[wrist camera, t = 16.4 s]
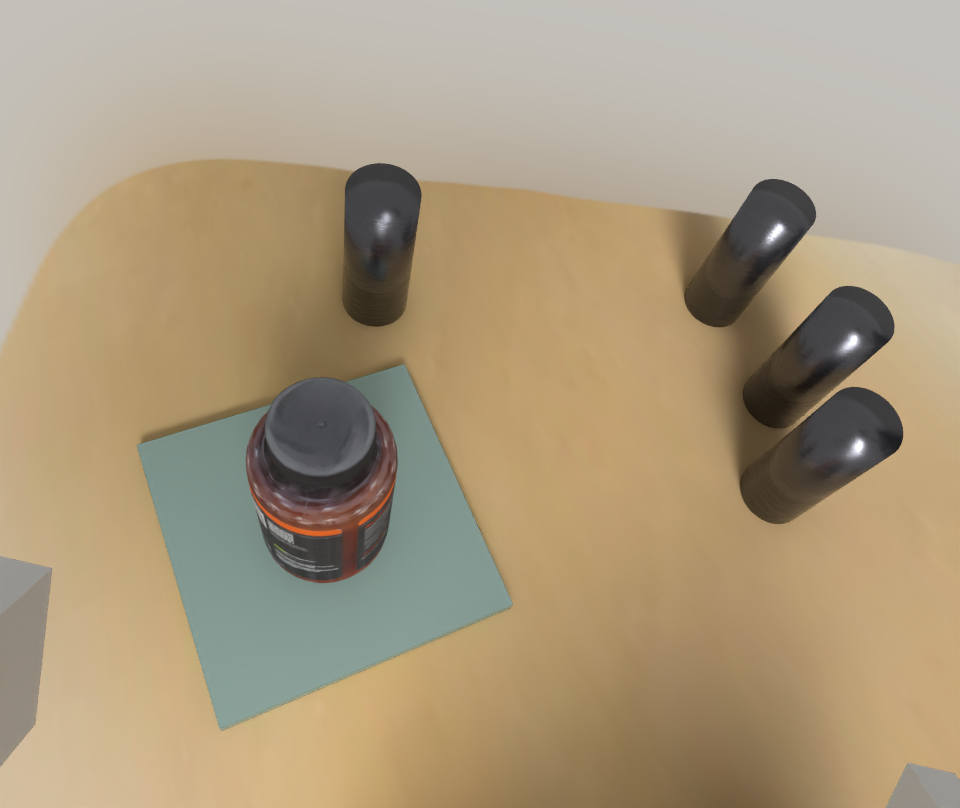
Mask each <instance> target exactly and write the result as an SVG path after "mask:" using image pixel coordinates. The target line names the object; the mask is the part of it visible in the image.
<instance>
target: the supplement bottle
mask: <svg viewBox="0 0 960 808" xmlns="http://www.w3.org/2000/svg"><path fill="white" fill-rule="evenodd" d="M397 466H398V457H397V447H396V443H395V440H394V436H393V433H392V431H391V429H390V427H389V425H388V423H387V422H386V420H385V419H384V417H383V416H382V415H381V414H380V413H379V412H378V411H377V410H376V409H375V408H374V407H373V406H372V405H370V403H369V401H368V400H367V399H366V397H365V396H364V395H363V394H362V393H361V392H360V391H359V390H357V389H356V388H355V387H353V386H351V385H349V384H348V383H346V382H343V381H341V380H337V379H333V378H323V377H320V378H309V379H305V380H302V381H300V382H297V383H295V384H293V385H291V386H289V387H288V388H286V389H285V390H284V391H282V392H281V393H280V394H279V395H278V396H277V397H276V398H275V399H274V401H273V402H272V404H271V406H270V408H269V410H268V411H267V412H266V413H265V414H264V415H263V416H262V417H261V419H260V420H259V422H258V423H257V425H256V426H255V428H254V430H253V432H252V434H251V436H250V439H249V442H248V446H247V451H246V471H247V478H248V482H249V485H250V490H251V494H252V497H253V501H254V504H255V508H256V512H257V516H258V519H259V523H260V527H261V530H262V535H263V538H264V541H265V544H266V546H267V548H268V550H269V552H270V554H271V555H272V558H273V559H274V560H275V561H276V562H277V563H278V564H279V565H280V566H281V567H282V568H283V569H284V570H285V571H286V572H288V573H290V574H291V575H293V576H295V577H297V578H300V579H303V580H305V581H309V582H314V583H331V582H337V581H341V580H344V579H347V578H349V577H352V576H354V575H356V574H358V573H360V572H361V571H362V570H364V569H365V568H366V567H367V566H368V565H369V564H370V563H371V562H372V561H373V560H374V559H375V558H376V556H377V555H378V553H379V552H380V550H381V548H382V546H383V544H384V541H385V538H386V536H387V532H388V527H389V522H390V514H391V508H392V501H393V494H394V488H395V481H396V473H397Z"/></svg>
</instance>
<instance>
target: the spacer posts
mask: <svg viewBox="0 0 960 808" xmlns="http://www.w3.org/2000/svg"><path fill="white" fill-rule="evenodd" d="M420 203H421V189H420V186H419V184H418V182H417V181H416V179H415V178H414V177H413V176H412V175H411V174H410V173H408V172H407V171H405V170H404V169H402V168H400V167H397V166H394V165H390V164H380V163H379V164H371V165H367V166H364V167H361V168H359V169H358V170H356V171H355V172H354V173H353V174H352V175H351V176H350V177H349V179H348V180H347V183H346V187H345V226H344V274H343V303H344V307H345V309H346V311H347V313H348V314H349V315H350V316H351V317H352V318H353V319H354V320H356V321H357V322H359V323H361V324H364V325H368V326H384V325H388V324H391V323H393V322H394V321H396V320H397V319H398V318H400V316H401V315H402V314H403V312H404V310H405V307H406V301H407V294H408V287H409V280H410V273H411V266H412V259H413V252H414V245H415V238H416V231H417V224H418V217H419V210H420ZM815 218H816V210H815V207H814V204H813V202H812V201H811V199H810V198H809V196H807V194H806V193H805V192H804V191H803V190H801V189H800V188H798V187H797V186H795V185H794V184H792V183H789V182H786V181H783V180H778V179H769V180H764V181H761V182H759V183H758V184H757V185H756V186H755V187H754V188H753V190H752V191H751V193H750V194H749V196H748V197H747V199H746V200H745V202H744V203H743V205H742V206H741V208H740V209H739V211H738V212H737V214H736V215H735V217H734V218H733V220H732V221H731V223H730V224H729V226H728V227H727V229H726V230H725V232H724V233H723V235H722V236H721V238H720V239H719V241H718V242H717V244H716V245H715V247H714V248H713V250H712V251H711V253H710V254H709V256H708V257H707V259H706V260H705V262H704V263H703V265H702V266H701V268H700V269H699V271H698V272H697V274H696V275H695V277H694V278H693V280H692V281H691V283H690V284H689V286H688V288H687V289H686V292H685V302H686V305H687V308H688V309H689V311H690V312H691V314H692V315H693V316H694V317H695V318H696V319H698V320H699V321H701V322H702V323H704V324H706V325H709V326H713V327H725V326H728V325H731V324H732V323H734V322H735V321H736V320H737V318H738V317H739V316H740V315H741V313H742V312H743V311H744V310H745V308H746V307H747V306H748V305H749V303H750V302H751V301H752V300H753V298H754V297H755V296H756V295H757V293H758V292H759V291H760V290H761V288H762V287H763V286H764V285H765V283H766V282H767V281H768V280H769V278H770V277H771V276H772V275H773V274H774V272H775V271H776V270H777V269H778V267H779V266H780V265H781V264H782V262H783V261H784V260H785V259H786V257H787V256H788V255H789V254H790V252H791V251H792V250H793V249H794V247H795V246H796V245H797V244H798V242H799V241H800V240H801V239H802V237H803V236H804V235H805V234H806V232H807V231H808V230H809V229H810V227H811V226H812V225H813V223H814V221H815ZM893 333H894V321H893V317H892V315H891V313H890V311H889V309H888V308H887V306H886V305H885V304H884V303H883V302H882V301H881V300H880V299H879V298H878V297H877V296H875V295H874V294H872V293H871V292H869V291H867V290H865V289H862V288H859V287H854V286H843V287H839V288H836V289H835V290H833V291H832V292H831V293H830V294H829V295H828V296H827V297H826V298H825V299H824V300H823V301H822V302H821V303H820V304H819V305H818V306H817V307H816V309H815V310H814V311H813V312H812V313H811V314H810V315H809V316H808V317H807V318H806V319H805V320H804V321H803V322H802V323H801V325H800V326H799V327H798V328H797V329H796V330H795V331H794V332H793V333H792V334H791V335H790V336H789V337H788V338H787V339H786V340H785V342H784V343H783V344H782V345H781V346H780V347H779V348H778V349H777V350H776V351H775V352H774V353H773V354H772V355H771V356H770V358H769V359H768V360H767V361H766V362H765V363H764V364H763V365H762V366H761V367H760V368H759V369H758V370H757V371H756V372H755V374H754V375H753V376H752V377H751V378H750V379H749V380H748V381H747V382H746V384H745V386H744V390H743V399H744V403H745V405H746V407H747V409H748V410H749V412H750V413H751V414H752V416H753V417H755V418H756V419H757V420H758V421H759V422H761V423H763V424H765V425H767V426H770V427H774V428H785V427H789V426H791V425H792V424H794V423H795V422H796V421H797V420H799V419H800V418H801V417H802V416H803V415H804V414H805V413H807V412H808V411H809V410H810V409H811V408H812V407H814V406H815V405H816V404H817V403H818V402H819V401H821V400H822V399H823V398H824V397H825V396H826V395H827V394H829V393H830V392H831V391H832V390H833V389H834V388H836V387H837V386H838V385H839V384H840V383H841V382H842V381H844V380H845V379H846V378H847V377H848V376H849V375H851V374H852V373H853V372H854V371H855V370H856V369H857V368H859V367H860V366H861V365H862V364H863V363H864V362H866V361H867V360H868V359H869V358H870V357H871V356H872V355H874V354H875V353H876V352H877V351H878V350H879V349H881V348H882V347H883V346H884V345H885V344H886V343H888V342H889V340H890V339H891V338H892V336H893ZM902 440H903V427H902V423H901V420H900V418H899V416H898V414H897V412H896V411H895V409H894V408H893V407H892V406H891V405H890V403H889V402H888V401H886V400H885V399H884V398H883V397H881V396H880V395H878V394H877V393H875V392H873V391H871V390H868V389H865V388H860V387H849V388H845V389H842V390H840V391H839V392H837V393H836V394H835V395H834V396H832V397H831V398H830V399H829V400H828V401H827V402H825V403H824V404H823V405H822V406H821V407H819V408H818V409H817V410H816V411H815V412H814V413H812V414H811V415H810V416H809V417H808V418H807V419H805V420H804V421H803V422H802V423H801V424H800V425H798V426H797V427H796V428H795V429H794V430H793V431H791V432H790V433H789V434H788V435H787V436H786V437H784V438H783V439H782V440H781V441H780V442H778V443H777V444H776V445H775V446H774V447H773V448H771V449H770V450H769V451H768V452H767V453H766V454H764V455H763V456H762V457H761V458H760V459H759V460H757V461H756V462H755V463H754V464H753V465H752V466H750V467H749V468H748V469H747V470H746V471H745V473H744V474H743V476H742V479H741V493H742V497H743V499H744V501H745V503H746V505H747V506H748V508H749V509H750V510H751V511H752V512H753V513H754V514H755V515H756V516H757V517H759V518H761V519H762V520H764V521H767V522H769V523H774V524H783V523H787V522H790V521H792V520H793V519H795V518H796V517H798V516H799V515H801V514H802V513H804V512H805V511H807V510H808V509H810V508H812V507H813V506H815V505H816V504H818V503H819V502H821V501H822V500H824V499H825V498H827V497H828V496H830V495H831V494H833V493H834V492H836V491H837V490H839V489H840V488H842V487H843V486H845V485H846V484H848V483H849V482H851V481H853V480H854V479H856V478H857V477H859V476H860V475H862V474H863V473H865V472H866V471H868V470H869V469H871V468H872V467H874V466H875V465H877V464H878V463H880V462H881V461H883V460H884V459H886V458H887V457H889V456H890V455H892V454H893V453H895V452H896V451H897V450H898V449H899V447H900V445H901V443H902Z"/></svg>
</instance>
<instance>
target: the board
mask: <svg viewBox="0 0 960 808" xmlns="http://www.w3.org/2000/svg"><path fill="white" fill-rule="evenodd" d="M346 383H348V384H349V385H351V386H353V387H355V388H356V389H357V390H359V391H360V392H361V393H362V394H363V395H364V396H365V397H366V399H367V400H368V401H369V403H370V405H372V406H373V407H374V408H375V409H376V410H377V411H378V412H379V413H380V414H381V415H382V416H383V417H384V419H385V420H386V422H387V423H388V425H389V427H390V429H391V431H392V433H393V436H394V440H395V443H396V447H397V457H398V466H397V473H396V481H395V488H394V494H393V501H392V508H391V514H390V522H389V527H388V532H387V536H386V538H385V541H384V544H383V546H382V548H381V550H380V552H379V553H378V555H377V556H376V558H375V559H374V560H373V561H372V562H371V563H370V564H369V565H368V566H367V567H366V568H365V569H364V570H362V571H361V572H360V573H358V574H356V575H354V576H352V577H349V578H347V579H344V580H341V581H337V582H331V583H314V582H309V581H305V580H303V579H300V578H297V577H295V576H293V575H291V574H290V573H288V572H286V571H285V570H284V569H283V568H282V567H281V566H280V565H279V564H278V563H277V562H276V561H275V560H274V559H273V558H272V555H271V554H270V552H269V550H268V548H267V546H266V544H265V541H264V538H263V535H262V530H261V527H260V523H259V519H258V516H257V512H256V508H255V504H254V501H253V497H252V494H251V490H250V485H249V482H248V478H247V471H246V451H247V446H248V442H249V439H250V436H251V434H252V432H253V430H254V428H255V426H256V425H257V423H258V422H259V420H260V419H261V417H262V416H263V415H264V414H265V413H266V412H267V411H268V410H269V408H270V406H271V405H267V406H264V407H261V408H257V409H254V410H251V411H247V412H244V413H241V414H238V415H234V416H231V417H228V418H224V419H221V420H218V421H214V422H211V423H208V424H204V425H201V426H198V427H195V428H191V429H188V430H185V431H181V432H178V433H175V434H171V435H168V436H165V437H161V438H158V439H155V440H152V441H148V442H145V443H142V444H138V445H137V448H138V451H139V455H140V458H141V462H142V465H143V468H144V472H145V475H146V479H147V482H148V485H149V489H150V492H151V496H152V499H153V503H154V506H155V509H156V513H157V516H158V520H159V523H160V526H161V530H162V533H163V537H164V540H165V544H166V547H167V550H168V554H169V557H170V561H171V564H172V567H173V571H174V574H175V578H176V581H177V585H178V588H179V591H180V595H181V598H182V602H183V605H184V608H185V612H186V615H187V619H188V622H189V626H190V629H191V632H192V636H193V639H194V643H195V646H196V649H197V653H198V656H199V660H200V663H201V666H202V670H203V673H204V677H205V680H206V684H207V687H208V690H209V694H210V697H211V701H212V704H213V707H214V711H215V714H216V718H217V721H218V725H219V728H220V729H221V730H225V729H227V728H229V727H232V726H234V725H237V724H239V723H241V722H244V721H246V720H248V719H251V718H253V717H255V716H258V715H260V714H262V713H265V712H267V711H269V710H272V709H274V708H276V707H279V706H281V705H284V704H286V703H288V702H291V701H293V700H295V699H298V698H300V697H302V696H305V695H307V694H309V693H312V692H314V691H316V690H319V689H321V688H323V687H326V686H328V685H331V684H333V683H335V682H338V681H340V680H342V679H345V678H347V677H349V676H352V675H354V674H356V673H359V672H361V671H363V670H366V669H368V668H370V667H373V666H375V665H378V664H380V663H382V662H385V661H387V660H389V659H392V658H394V657H396V656H399V655H401V654H403V653H406V652H408V651H410V650H413V649H415V648H417V647H420V646H422V645H424V644H427V643H429V642H432V641H434V640H436V639H439V638H441V637H443V636H446V635H448V634H450V633H453V632H455V631H457V630H460V629H462V628H464V627H467V626H469V625H471V624H474V623H476V622H479V621H481V620H483V619H486V618H488V617H490V616H493V615H495V614H497V613H500V612H502V611H504V610H507V609H509V608H510V607H511V606H512V605H513V603H512V601H511V598H510V596H509V594H508V592H507V590H506V587H505V585H504V583H503V581H502V579H501V576H500V574H499V572H498V570H497V567H496V565H495V563H494V561H493V559H492V556H491V554H490V552H489V550H488V548H487V545H486V543H485V541H484V539H483V537H482V534H481V532H480V530H479V528H478V525H477V523H476V521H475V519H474V517H473V514H472V512H471V510H470V508H469V506H468V503H467V501H466V499H465V497H464V495H463V492H462V490H461V488H460V486H459V483H458V481H457V479H456V477H455V475H454V472H453V470H452V468H451V466H450V464H449V461H448V459H447V457H446V455H445V453H444V450H443V448H442V446H441V444H440V442H439V439H438V437H437V435H436V433H435V430H434V428H433V426H432V424H431V422H430V419H429V417H428V415H427V413H426V411H425V408H424V406H423V404H422V402H421V400H420V397H419V395H418V393H417V391H416V388H415V386H414V384H413V382H412V380H411V377H410V375H409V373H408V371H407V369H406V366H405V364H403V365H400V366H396V367H393V368H390V369H386V370H383V371H380V372H377V373H373V374H370V375H367V376H363V377H360V378H357V379H353V380H350V381H347V382H346Z"/></svg>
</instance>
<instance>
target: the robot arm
mask: <svg viewBox="0 0 960 808" xmlns="http://www.w3.org/2000/svg"><path fill="white" fill-rule="evenodd" d="M51 575H52V568H49V567H45V566H41V565H36V564H32V563H27V562H23V561H19V560H14V559H10V558H5V557H1V556H0V767H1V765H2V764H3V763H4V762H5V760H6V759H7V758H8V757H9V756H10V754H11V753H12V752H13V751H14V749H15V748H16V747H17V746H18V745H19V743H20V742H21V741H22V740H23V739H24V737H25V736H26V735H27V734H28V732H29V731H30V730H31V729H32V728H33V726H34V725H35V721H36V712H37V703H38V694H39V685H40V675H41V666H42V657H43V648H44V639H45V630H46V621H47V611H48V602H49V593H50V584H51ZM886 808H960V780H959V779H958V777H957V776H956V775H955V773H951V772H946V771H942V770H937V769H933V768H929V767H924V766H920V765H915V764H911V763H907V765H906V767H905V769H904V771H903V773H902V775H901V777H900V779H899V781H898V784H897V786H896V788H895V790H894V792H893V794H892V796H891V798H890V800H889V802H888V804H887V806H886Z"/></svg>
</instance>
